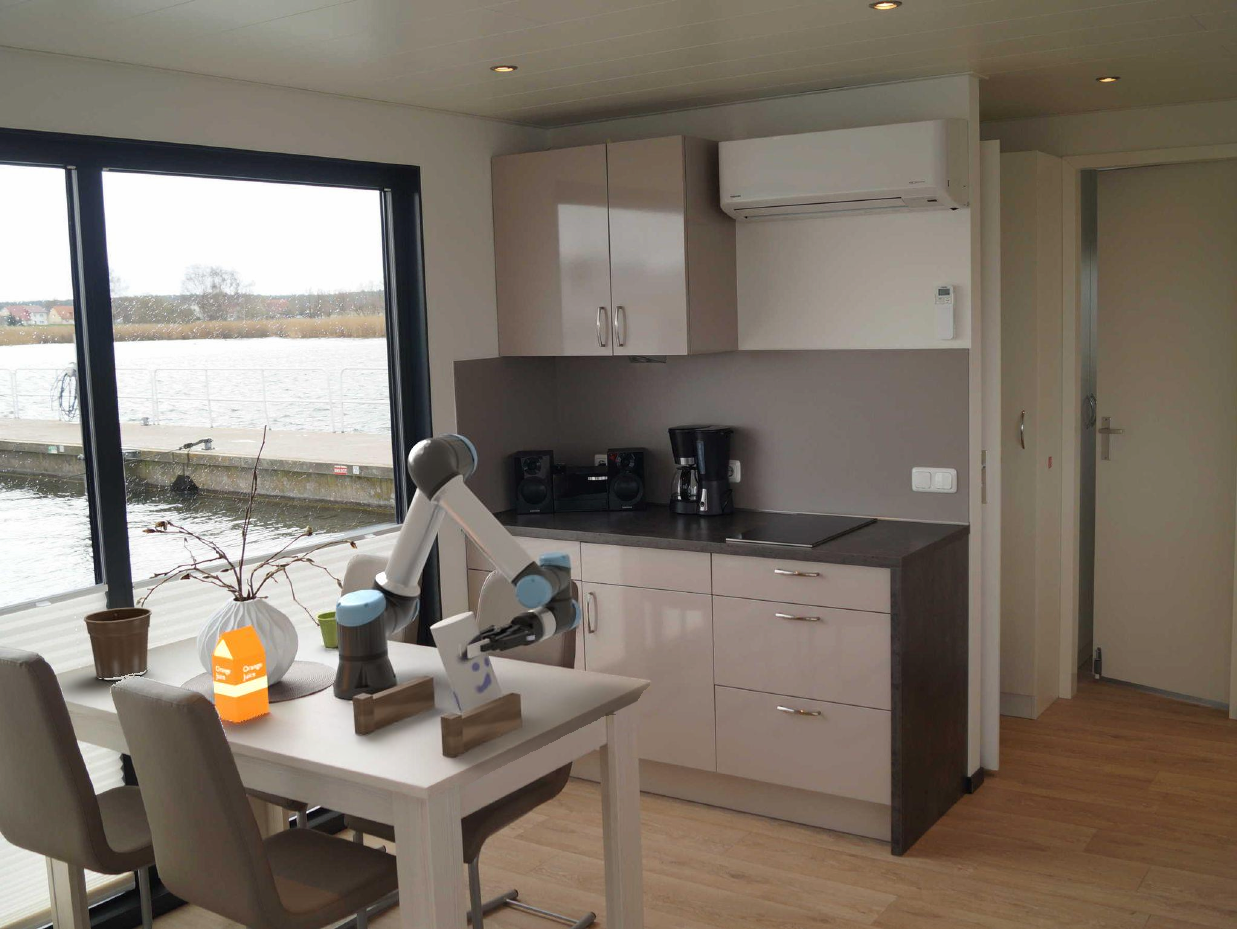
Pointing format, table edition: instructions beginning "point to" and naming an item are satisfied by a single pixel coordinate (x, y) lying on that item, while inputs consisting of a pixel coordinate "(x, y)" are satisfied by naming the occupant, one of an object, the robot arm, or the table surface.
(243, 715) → the orange juice
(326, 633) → the plant pot
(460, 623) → the container
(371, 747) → the table surface
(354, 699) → the channel
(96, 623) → the plant pot
